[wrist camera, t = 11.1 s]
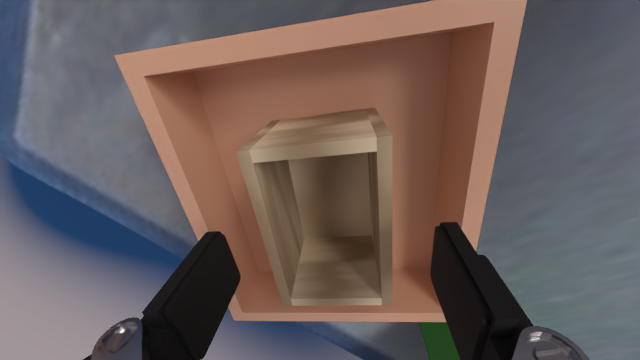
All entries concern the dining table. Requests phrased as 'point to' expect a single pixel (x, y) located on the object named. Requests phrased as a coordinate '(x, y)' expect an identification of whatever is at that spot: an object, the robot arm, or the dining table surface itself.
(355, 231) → the pine crate
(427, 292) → the terracotta crate
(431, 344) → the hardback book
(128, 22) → the dining table surface
